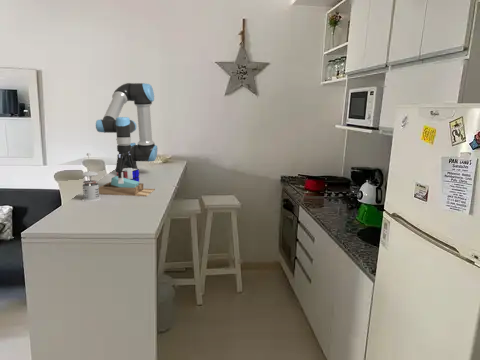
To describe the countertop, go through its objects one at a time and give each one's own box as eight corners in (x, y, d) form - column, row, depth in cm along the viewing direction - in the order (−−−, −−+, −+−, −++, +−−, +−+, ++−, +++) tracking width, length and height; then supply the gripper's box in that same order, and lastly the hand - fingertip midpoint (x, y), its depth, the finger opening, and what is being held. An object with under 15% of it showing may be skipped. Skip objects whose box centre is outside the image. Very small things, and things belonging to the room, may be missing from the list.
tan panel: (144, 189, 214) (144, 188, 214) (155, 189, 214) (155, 188, 213) (135, 195, 198) (134, 194, 198) (146, 196, 198) (146, 195, 198)
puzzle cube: (131, 187, 219) (131, 171, 217) (117, 186, 221) (116, 170, 219) (139, 184, 229) (138, 168, 227) (125, 183, 231) (124, 168, 229)
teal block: (115, 182, 209) (116, 175, 209) (138, 188, 209) (139, 181, 208) (110, 184, 203) (111, 178, 202) (134, 190, 203) (135, 184, 202)
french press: (82, 202, 183) (78, 154, 178) (80, 197, 193) (77, 151, 188) (102, 200, 188) (99, 153, 183) (99, 195, 198) (97, 151, 193)
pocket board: (109, 188, 215) (109, 182, 214) (143, 189, 214) (143, 183, 213) (98, 194, 201) (97, 187, 200) (134, 195, 199) (134, 189, 198)
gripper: (126, 142, 214) (127, 176, 218) (107, 146, 189) (110, 185, 194) (138, 142, 213) (139, 177, 217) (121, 147, 189) (123, 185, 193)
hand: (125, 181), depth 205 cm, fingers open, 13 cm apart
